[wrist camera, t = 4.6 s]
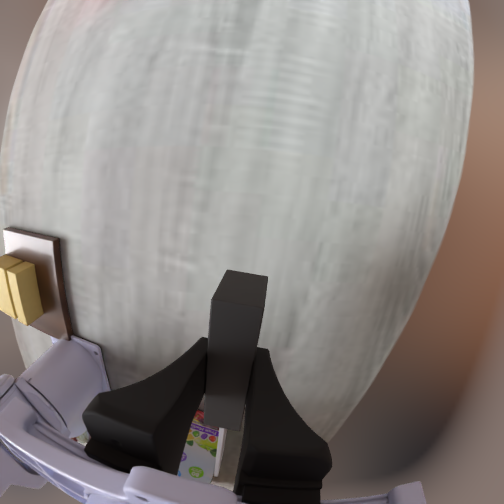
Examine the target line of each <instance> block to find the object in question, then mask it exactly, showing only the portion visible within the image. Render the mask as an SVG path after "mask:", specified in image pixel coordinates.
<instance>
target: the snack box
mask: <svg viewBox="0 0 504 504" xmlns="http://www.w3.org/2000/svg"><path fill="white" fill-rule="evenodd" d="M218 436H219V427H214V426H209V425H205V424H204V412H202V411H200V410H197V412H196V414H195V416H194V419H193V421H192V424H191V427H190V430H189V434H188V437H187V440H186V444H185V448H184V451H183V455H182V458H181V462H180V466H179V470H178V474H177V476H180V477H183V478H187V479H191V480H195V481H199V482H204V483H209V484H211V480H212V477H213V473H214V470H215V463H216V454H217V445H218Z"/></svg>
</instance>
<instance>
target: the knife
mask: <svg viewBox="0 0 504 504" xmlns="http://www.w3.org/2000/svg"><path fill="white" fill-rule="evenodd" d="M267 283H268V277H267V276H262V275H256V274H250V273H244V272H238V271H232V270H227V271H226V272H225V274H224V276H223V278H222V280H221V282H220V284H219V286H218V288H217V290H216V292H215V294H214V295H213V297H212V299H211V309H210V322H209V335H208V349H207V364H206V381H205V400H204V424H205V425H209V426H214V427H219V436H218V445H217V454H216V463H215V472H214V476H216V477H218V474H219V470H220V466H221V461H222V457H223V452H224V446H225V440H226V433H227V429H229V430H235V431H240V428H241V423H242V419H243V414H244V409H245V404H246V399H247V394H248V389H249V384H250V379H251V374H252V369H253V364H254V360H255V355H256V350H257V345H258V339H259V334H260V329H261V323H262V318H263V313H264V307H265V299H266V291H267Z"/></svg>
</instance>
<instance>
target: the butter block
mask: <svg viewBox="0 0 504 504" xmlns="http://www.w3.org/2000/svg"><path fill="white" fill-rule="evenodd" d="M21 263H23V262H22V260H20V259H17V258H14V257H11V256H9V255H6V254H5V255H3V256H1V257H0V310H1V311H3V312H4V313H6V314H8V315H9V316H11V317H13V318H14V319H17V318H18V317H17V313H16V309H15V306H14V302H13V297H12V293H11V289H10V284H9V279H8V274H7V270H9V269H11V268H13V267H15V266H17V265H19V264H21Z"/></svg>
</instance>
